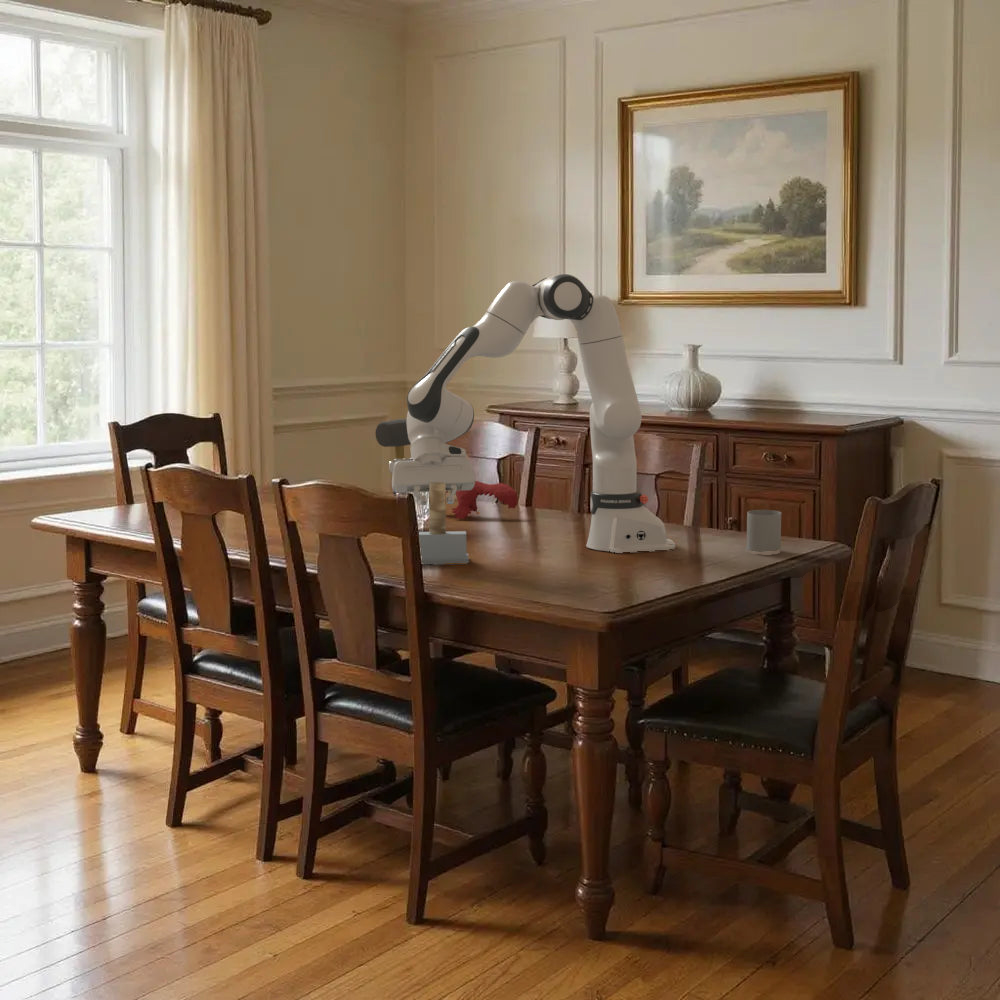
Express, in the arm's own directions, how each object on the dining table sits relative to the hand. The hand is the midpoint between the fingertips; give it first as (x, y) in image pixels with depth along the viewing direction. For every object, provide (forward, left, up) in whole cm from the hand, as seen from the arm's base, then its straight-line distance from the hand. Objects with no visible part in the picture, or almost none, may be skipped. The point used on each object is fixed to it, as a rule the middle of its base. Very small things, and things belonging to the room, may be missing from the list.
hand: (437, 503), depth 334 cm
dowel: (0, -1, -7) cm, 7 cm away
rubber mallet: (+10, -52, -15) cm, 55 cm away
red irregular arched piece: (-9, -67, -15) cm, 69 cm away
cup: (-81, -7, -15) cm, 82 cm away
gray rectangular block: (0, -1, -14) cm, 14 cm away
